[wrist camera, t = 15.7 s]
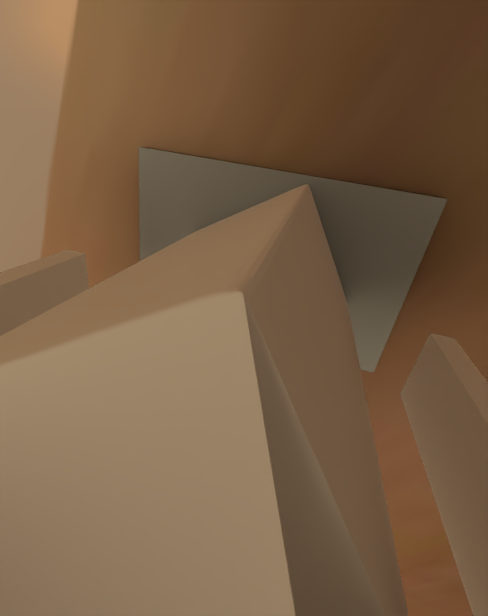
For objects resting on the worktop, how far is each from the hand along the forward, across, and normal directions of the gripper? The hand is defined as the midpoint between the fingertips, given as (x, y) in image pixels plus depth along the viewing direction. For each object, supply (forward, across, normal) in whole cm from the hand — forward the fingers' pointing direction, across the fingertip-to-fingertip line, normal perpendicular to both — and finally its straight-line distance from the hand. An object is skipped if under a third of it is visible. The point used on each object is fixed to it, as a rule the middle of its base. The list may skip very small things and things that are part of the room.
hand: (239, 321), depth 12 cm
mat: (+8, 0, 0) cm, 8 cm away
